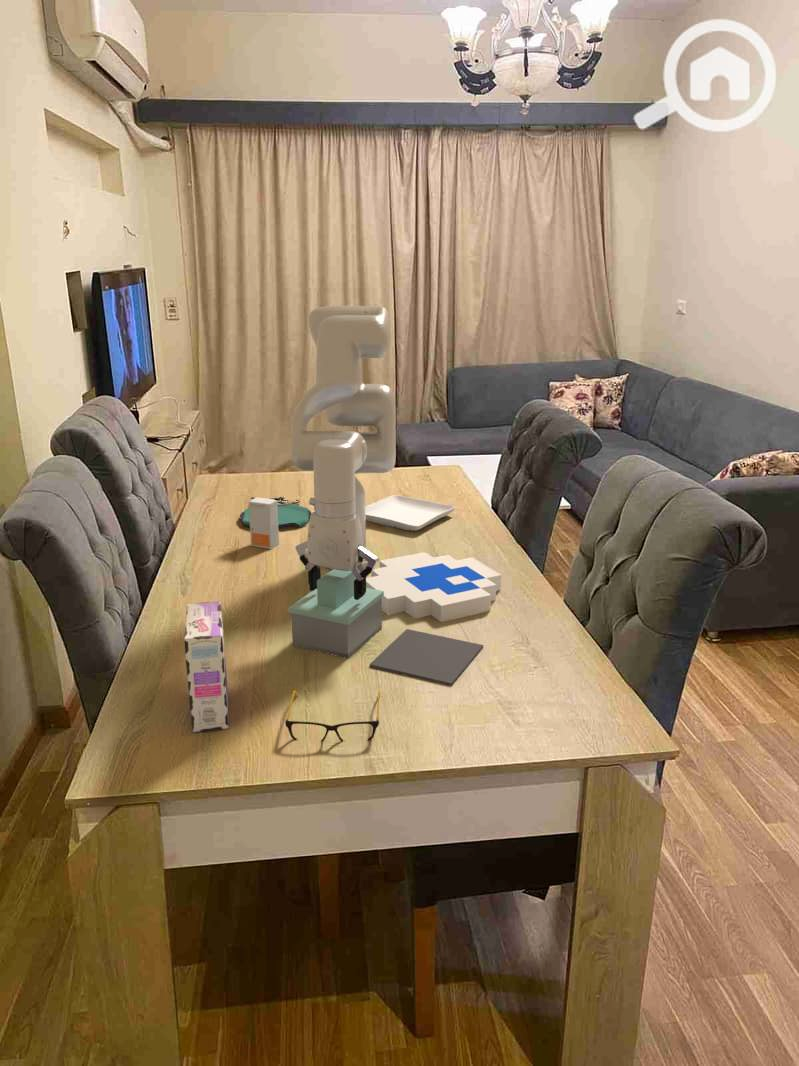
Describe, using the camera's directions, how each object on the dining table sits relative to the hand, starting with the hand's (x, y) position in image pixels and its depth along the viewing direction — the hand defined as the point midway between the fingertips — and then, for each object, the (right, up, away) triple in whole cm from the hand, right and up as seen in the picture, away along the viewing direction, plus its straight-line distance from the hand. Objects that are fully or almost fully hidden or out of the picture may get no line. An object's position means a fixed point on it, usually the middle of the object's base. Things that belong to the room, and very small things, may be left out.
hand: (337, 592), depth 157 cm
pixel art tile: (+19, -2, +24) cm, 31 cm away
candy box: (-19, -18, -22) cm, 34 cm away
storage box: (0, -9, +3) cm, 9 cm away
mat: (+17, -11, -5) cm, 21 cm away
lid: (0, -2, +1) cm, 2 cm away
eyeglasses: (+2, -19, -24) cm, 31 cm away
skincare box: (-22, +8, +52) cm, 57 cm away
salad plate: (+14, +15, +72) cm, 75 cm away
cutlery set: (-23, +16, +76) cm, 81 cm away
